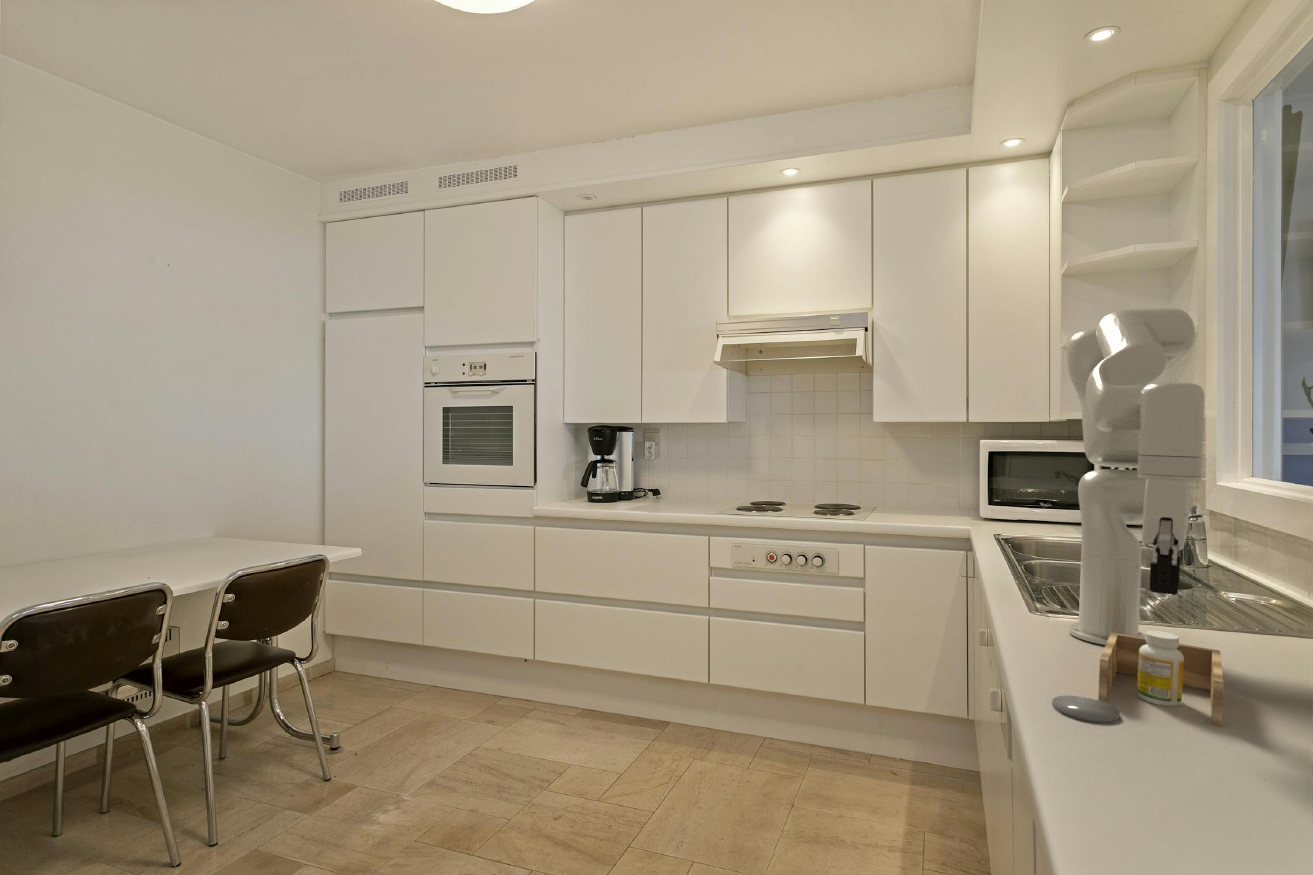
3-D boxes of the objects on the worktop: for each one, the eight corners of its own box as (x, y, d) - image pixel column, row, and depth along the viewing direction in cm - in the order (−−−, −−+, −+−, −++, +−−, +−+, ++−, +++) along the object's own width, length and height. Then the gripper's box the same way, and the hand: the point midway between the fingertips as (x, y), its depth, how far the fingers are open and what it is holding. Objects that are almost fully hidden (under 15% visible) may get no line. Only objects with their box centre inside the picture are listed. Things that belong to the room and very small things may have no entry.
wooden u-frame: (1109, 668, 117) (1111, 632, 117) (1218, 689, 109) (1220, 650, 109) (1098, 699, 104) (1099, 658, 104) (1221, 726, 95) (1223, 681, 95)
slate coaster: (1056, 695, 105) (1057, 691, 105) (1121, 709, 100) (1122, 705, 100) (1047, 712, 99) (1048, 707, 99) (1116, 728, 94) (1116, 723, 94)
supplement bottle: (1156, 707, 101) (1159, 640, 101) (1127, 693, 107) (1130, 629, 107) (1191, 707, 102) (1194, 639, 102) (1161, 692, 107) (1164, 628, 107)
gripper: (1141, 466, 113) (1137, 575, 113) (1133, 469, 99) (1129, 593, 99) (1201, 468, 108) (1197, 582, 108) (1202, 472, 94) (1197, 602, 94)
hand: (1164, 587), depth 104 cm, fingers open, 9 cm apart
